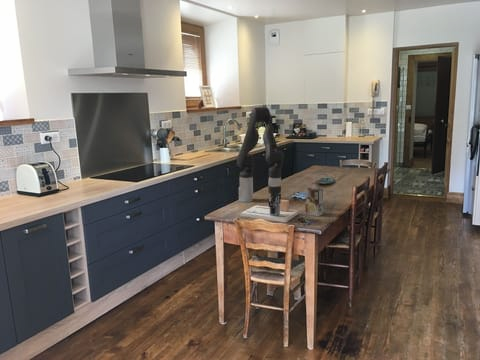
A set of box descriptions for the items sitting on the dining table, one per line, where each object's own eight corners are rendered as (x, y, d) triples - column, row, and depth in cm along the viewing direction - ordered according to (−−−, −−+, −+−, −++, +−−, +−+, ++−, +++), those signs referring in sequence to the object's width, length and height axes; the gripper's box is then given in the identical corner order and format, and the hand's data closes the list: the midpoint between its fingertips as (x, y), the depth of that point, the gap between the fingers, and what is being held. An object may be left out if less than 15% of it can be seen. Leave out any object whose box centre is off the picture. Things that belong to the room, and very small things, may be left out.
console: (241, 215, 254) (240, 212, 254) (255, 208, 271) (255, 205, 271) (286, 222, 240) (286, 218, 239) (298, 213, 257) (298, 210, 256)
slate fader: (269, 214, 246) (269, 205, 245) (272, 213, 249) (272, 203, 248) (277, 215, 244) (277, 206, 243) (279, 214, 247) (279, 204, 246)
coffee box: (323, 214, 255) (323, 188, 252) (318, 216, 250) (319, 190, 247) (309, 212, 260) (309, 187, 257) (305, 214, 255) (305, 189, 252)
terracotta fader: (279, 210, 256) (279, 200, 255) (281, 208, 259) (281, 199, 258) (286, 211, 254) (286, 201, 253) (288, 209, 257) (288, 200, 256)
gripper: (274, 181, 251) (274, 208, 254) (263, 186, 239) (263, 214, 242) (285, 183, 247) (285, 210, 251) (275, 187, 235) (275, 216, 239)
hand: (274, 212), depth 247 cm, fingers open, 5 cm apart
